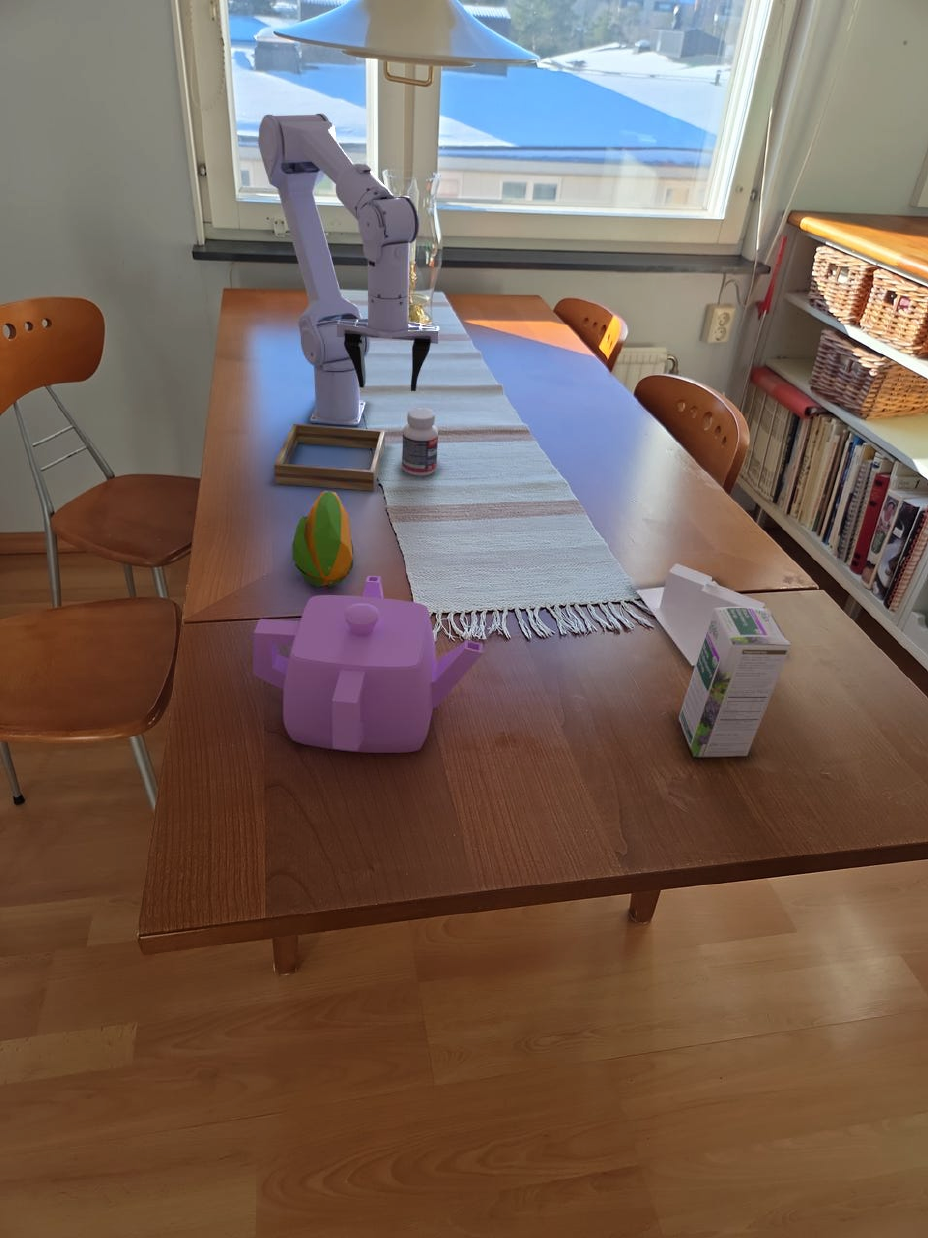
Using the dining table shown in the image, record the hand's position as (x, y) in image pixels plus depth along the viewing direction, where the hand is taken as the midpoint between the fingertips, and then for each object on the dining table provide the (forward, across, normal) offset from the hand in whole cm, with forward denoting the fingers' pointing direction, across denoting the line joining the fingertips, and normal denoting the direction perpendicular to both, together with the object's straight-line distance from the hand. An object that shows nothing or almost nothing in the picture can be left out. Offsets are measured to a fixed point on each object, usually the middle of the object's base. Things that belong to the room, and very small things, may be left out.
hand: (388, 386), depth 126 cm
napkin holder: (+11, +42, -39) cm, 59 cm away
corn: (+11, -5, -31) cm, 33 cm away
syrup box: (+11, +39, -59) cm, 72 cm away
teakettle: (+11, +4, -58) cm, 59 cm away
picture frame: (+10, -8, -6) cm, 14 cm away
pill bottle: (+11, +5, -5) cm, 13 cm away
